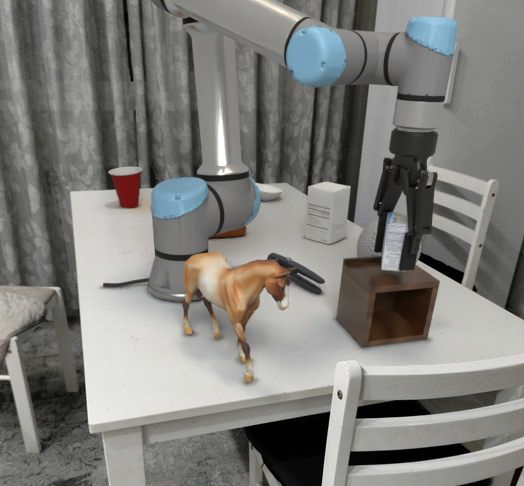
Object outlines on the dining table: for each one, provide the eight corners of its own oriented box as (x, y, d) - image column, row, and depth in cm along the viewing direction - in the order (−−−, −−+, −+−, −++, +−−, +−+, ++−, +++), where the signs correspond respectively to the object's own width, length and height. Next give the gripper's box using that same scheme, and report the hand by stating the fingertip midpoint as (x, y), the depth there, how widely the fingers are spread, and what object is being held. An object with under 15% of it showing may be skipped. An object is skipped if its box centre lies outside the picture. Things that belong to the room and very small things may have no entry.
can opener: (259, 274, 127) (260, 252, 125) (280, 268, 131) (281, 246, 129) (310, 299, 116) (312, 275, 113) (332, 291, 120) (334, 268, 117)
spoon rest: (280, 195, 196) (281, 175, 192) (283, 203, 186) (285, 182, 182) (216, 194, 194) (216, 174, 190) (217, 202, 184) (216, 181, 180)
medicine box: (405, 273, 94) (414, 225, 89) (380, 270, 94) (387, 223, 90) (404, 258, 100) (412, 213, 96) (380, 255, 101) (387, 211, 97)
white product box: (320, 231, 159) (325, 180, 152) (345, 237, 154) (352, 186, 147) (303, 237, 153) (307, 185, 145) (329, 245, 148) (334, 191, 141)
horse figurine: (290, 384, 86) (299, 266, 76) (251, 398, 82) (255, 276, 72) (199, 312, 108) (197, 213, 98) (165, 321, 104) (158, 219, 94)
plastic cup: (111, 202, 179) (107, 166, 173) (143, 201, 182) (140, 165, 176) (113, 211, 170) (108, 172, 164) (146, 209, 173) (144, 171, 167)
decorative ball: (374, 292, 120) (384, 228, 113) (342, 269, 132) (349, 210, 125) (428, 284, 125) (440, 222, 118) (392, 263, 137) (401, 205, 130)
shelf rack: (361, 347, 98) (371, 282, 91) (336, 319, 108) (343, 258, 101) (427, 339, 102) (441, 275, 95) (396, 312, 111) (407, 253, 105)
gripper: (475, 139, 78) (444, 280, 89) (402, 120, 95) (383, 240, 107) (431, 139, 76) (404, 284, 87) (365, 120, 93) (350, 242, 105)
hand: (393, 260), depth 97 cm, fingers closed on medicine box, 9 cm apart
